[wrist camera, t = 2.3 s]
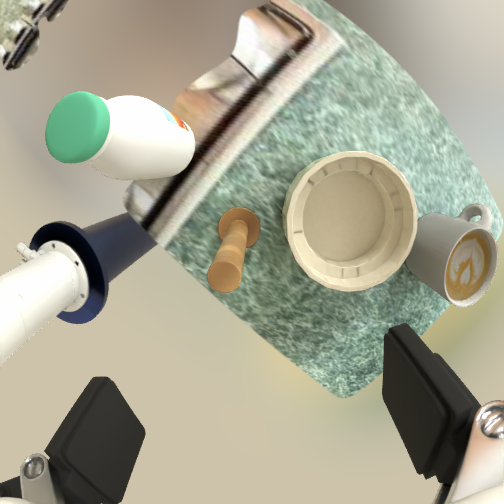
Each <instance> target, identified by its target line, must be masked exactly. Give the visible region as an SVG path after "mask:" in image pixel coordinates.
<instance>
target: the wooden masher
mask: <svg viewBox="0 0 504 504" xmlns="http://www.w3.org/2000/svg"><path fill="white" fill-rule="evenodd" d="M218 233H219V236H220V238H221V240H222V243H221V245H220V247H219V249H218V251H217V253H216V255H215V258H214V260H213V262H212V264H211V266H210V268H209V270H208V273H207V279H208V282H209V284H210V286H211V287H212V288H213V289H215V290H216V291H218V292H222V293H228V292H231V291H234V290H235V289H236V288H237V287H238V286H239V284H240V282H241V277H242V270H243V263H244V256H245V250H246V248H248V247H250V246H252V245H253V244H254V243H255V242H256V241H257V239H258V237H259V235H260V222H259V219H258V217H257V216H256V214H255V213H254V212H253V211H251V210H250V209H247V208H244V207H235V208H232V209H229V210H228V211H227V212H225V213H224V215H223V216H222V217H221V219H220V221H219V224H218Z"/></svg>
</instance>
